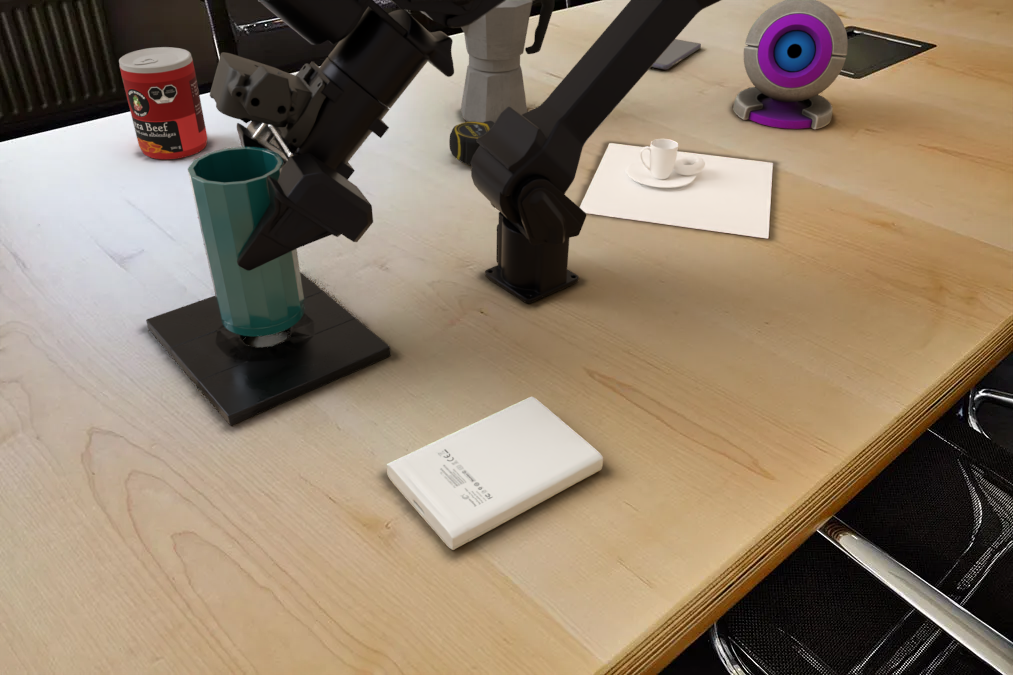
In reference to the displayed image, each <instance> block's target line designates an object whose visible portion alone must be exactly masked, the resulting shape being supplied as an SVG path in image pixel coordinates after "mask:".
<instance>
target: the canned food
mask: <svg viewBox="0 0 1013 675" xmlns="http://www.w3.org/2000/svg"><path fill="white" fill-rule="evenodd" d="M118 63H119V64H118V65H119V69H120V74H121V79H122V83H123V87H124V92H125V96H126V100H127V103H128V107H129V111H130V115H131V119H132V124H133V127H134V132H135V136H136V140H137V143H138V144H137V145H138V147H139V148H140V150H141V152H142V154H143V155H145V156H146V157H148V158H151V159H154V160H177V159H182V158H188V157H191V156H193V155H196V154H198V153H200V152H201V151H203V149H205V148H206V147H207V143H208V132H207V128H206V123H205V117H204V112H203V107H202V102H201V95H200V90H199V85H198V80H197V75H196V70H195V66H194V60H193V56H192V53H191V52H190V51H189V50H188V49H184V48H179V47H169V46H161V47H160V46H159V47H148V48H142V49H139V50H134V51H131V52H128V53H126V54H124V55H122V56H121V57H120V58H119V59H118Z"/></svg>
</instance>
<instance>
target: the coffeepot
mask: <svg viewBox="0 0 1013 675" xmlns="http://www.w3.org/2000/svg"><path fill="white" fill-rule="evenodd" d="M538 3H541V8H540V11H539V16H538V22H537V25H536V27H535V30H534V38H533V40H534V41H533V43H532V45H530V46H526V47H525V45H526V41H527V40H526V39H527V33H528V28H529V22H530V16H531V11H532V6H534V5H536V4H538ZM555 4H556V3H555V0H506V1H504V2H503V3H501V4H500V5H499V6H497V7H496V8H494V9H493V10H491V11H490V12H488V13H487V14H486V15H484V16H483V17H481V18H480V19H478V20H477V21H475V22H474V23H472V24H470V25H468V26H464V27H460V28H461V30H462V32H463V35H464V41H465V49H466V52H467V54H468V65H467V68H466V71H465V72H466V73H465V78H464V86H463V93H462V99H461V105H460V111H461V117H462V119H463V120H464V121H466V122H485V121H493V122H494V123H495V122H496V120H497V119H498V117H499V115H500V114H501V113H502V112H503V111H504V110H505V109H506V108H507V107H512V108H513V109H514V110H516V111H517V112H518V113H520V114H521V115H522V114H524V113H526V112H528V107H527V99H526V90H525V85H524V84H525V83H524V76H523V69H522V67H521V55H523V54H524V51H525V53H526V54H527V55H534V54H537V53H539V52H540V51H541V49H542V46H543V43H544V40H545V36H546V34H547V31H548V27H549V24H550V21H551V18H552V15H553V12H554V8H555Z"/></svg>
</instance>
